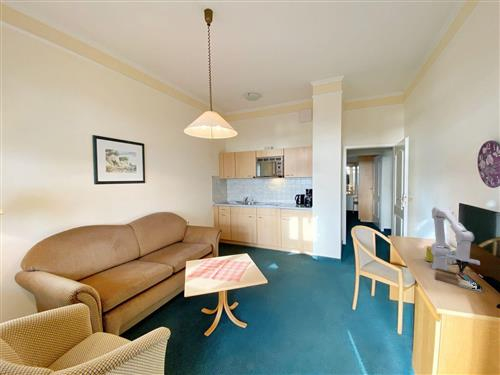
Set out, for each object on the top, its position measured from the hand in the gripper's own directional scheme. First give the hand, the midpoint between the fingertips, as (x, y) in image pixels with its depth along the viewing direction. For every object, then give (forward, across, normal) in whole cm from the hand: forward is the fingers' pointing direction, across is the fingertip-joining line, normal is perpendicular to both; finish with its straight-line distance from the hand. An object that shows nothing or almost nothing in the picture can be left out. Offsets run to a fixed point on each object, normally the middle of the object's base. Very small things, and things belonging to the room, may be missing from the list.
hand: (460, 272), depth 128 cm
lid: (+7, +3, 0) cm, 7 cm away
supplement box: (+7, -14, +30) cm, 34 cm away
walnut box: (+7, -6, 0) cm, 10 cm away
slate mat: (+7, +4, 0) cm, 8 cm away
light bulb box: (+7, -4, +38) cm, 39 cm away
